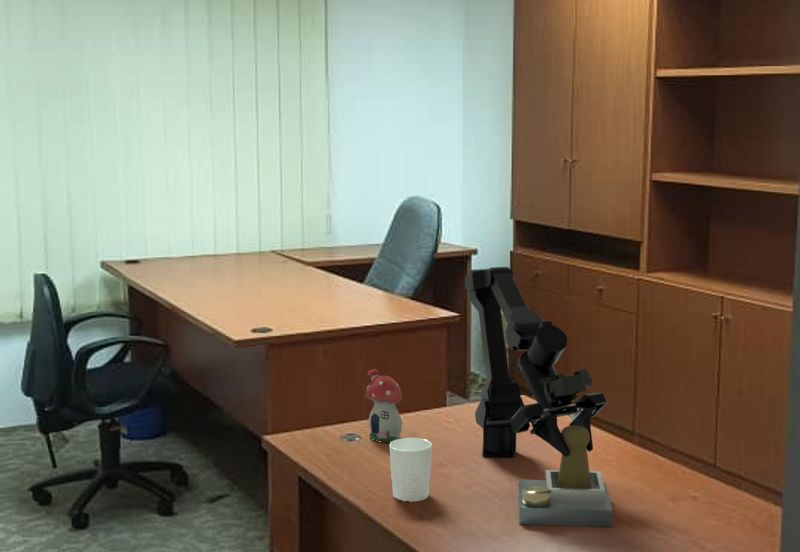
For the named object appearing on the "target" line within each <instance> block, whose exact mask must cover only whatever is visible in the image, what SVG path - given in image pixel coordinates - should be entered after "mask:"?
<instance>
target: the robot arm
mask: <svg viewBox="0 0 800 552" xmlns="http://www.w3.org/2000/svg"><path fill="white" fill-rule="evenodd" d="M464 279H465V280H464V286H465V290H466V292H467V293H468V294H467V295H468V298H469V302H470V303H471V305H473V307H474V308H475V310H476V311H477V312H478V316H479V325H480V334H481V341H482V350H483V359H484V365H485V366H484V367H485V373H486V381H485V383H484V386H483V388H482V390H481V392H480V402H479V403H478V406H477V407H476V410H475V412H474V415H475V423H476V424H477V425H478V426H479V427H480V428H482V430H483V431H482V450H481V451H482V455H481V456H482V457H491V458H492V457H494V458H495V457H496V458H499V457H500V458H514V457H515V454H514V453H515V452H516V451H517V434H520V433H526V432H528V431H529V430H530V427H531V426H532V429H531V430H530V431H529V433H530V434H531V435H536V436H537V437H539V439H541V440H543V441H545V442H546V443H548V444H549V445H550V446H551V447H553V448H554V449H555V450H557V452H559V453H560V454H561V455H562V454H563V455H564V456H565V457H568V456H569V455H570V452H569V450H568V447H567V445H566V443H565V440H564V438H563V436H562V434H561V430H560V429H559V426H558V418H559V417H565V416H569V417H570V418H571V422H570V423H569V424H568V426H581V427H584V428H586V429H587V430H588V432H589V435H590V440H589V443H588V444H587V446H586V447H587V452H589V453H590V452H592V451H593V450H594V443H593V437H592V436H593V435H592V428H591V427H592V426H591V419H592V418H595V417H596V416H597V415H598V414H599V413H600V412H601V411H602V410H603V409H604V408H605V407H606V405H607V404H608V403H609V402H608V400H607V398H606V396H605V394H604V393H603V392H601V391H595V392H590V393H585V392H587V391H588V387H591V386H592V384H593V380H592V376H591V375H590V373H589V372H588V370H587V369H586V368H585V369H579V370H576V371H574V372H573V375H570V376H569V375H568V376H565V375H564V374H563V373H561V374H558V373H557V370H556V368H555V366H554V365H556V364H557V362H558V361H559V359H560V357H561V355H562V354H563V352H564V351H565V349H566V347H567V344H568V337H567V334H566V333H564V331H563V330H561V328H559V327H557V326H555V325H553V321H552V320H544V319H543V318H542V317H541V316H540V314H539V313H537V312H535V311H533V310H531V309H530V307H528V305H527V303H526V301H525V298H524V297H523V295H522V292H521V291H520V289H519V287H518V284H517V282H516V281H515V279H514V272H513V270H512V267H508V266H495V267H494V266H493V267H491V266H490V267H489V268H480V269H479V268H477V269H471V270H470V271H469V273H468V274H467V275H466V276H465V278H464ZM502 313H503V315H502ZM503 317H504V318H505V321H506V322H507V325H506V329H505V333H504V323H503ZM506 343H507V345H508V346H509V347H510V349H511V350H512V351H514V352H519V351H520V352H521V351H524V352H523V353H522V355H520V356H519V357H517V358H518V359H517V360H518V361H517V364H516V372H518V373H519V372H521V373H522V374H523V376H524V378H525V380H526V383H527V385H528V387H529V389H530V390H529V391H528V393H527V394H528V396H529V398H530V399H532V398H534V400H535V401H536V403H535V402H534V403H531V404H525V403H524V400H523V398H522V397H521V387H520V384H519V383H518V382H515V381H514V380H513V379H512V378H511V376H510V370H509V362H508V357H507V347H506ZM581 392H583V393H584V394H583V395H582V396H581V397H580V398H579V399H578V400H577V402H576V401H575V402H572V401H574V400H575V399H576V398H577V397H578V395H577V394H579V393H581ZM530 423H531V424H530Z"/></svg>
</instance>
